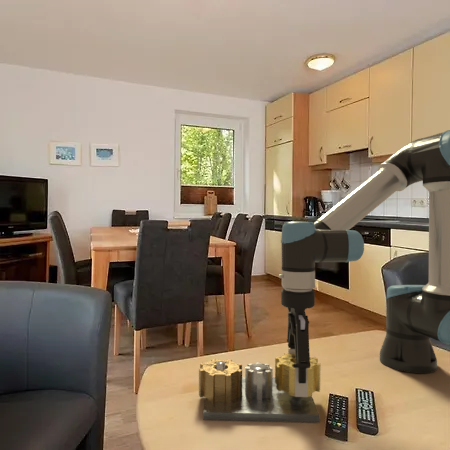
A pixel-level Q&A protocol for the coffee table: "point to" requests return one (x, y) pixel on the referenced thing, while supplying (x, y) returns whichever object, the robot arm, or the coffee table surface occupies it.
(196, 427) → the coffee table surface
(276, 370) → the gear
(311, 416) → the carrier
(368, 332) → the coffee table surface
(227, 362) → the seated gear
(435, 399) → the coffee table surface
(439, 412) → the coffee table surface
